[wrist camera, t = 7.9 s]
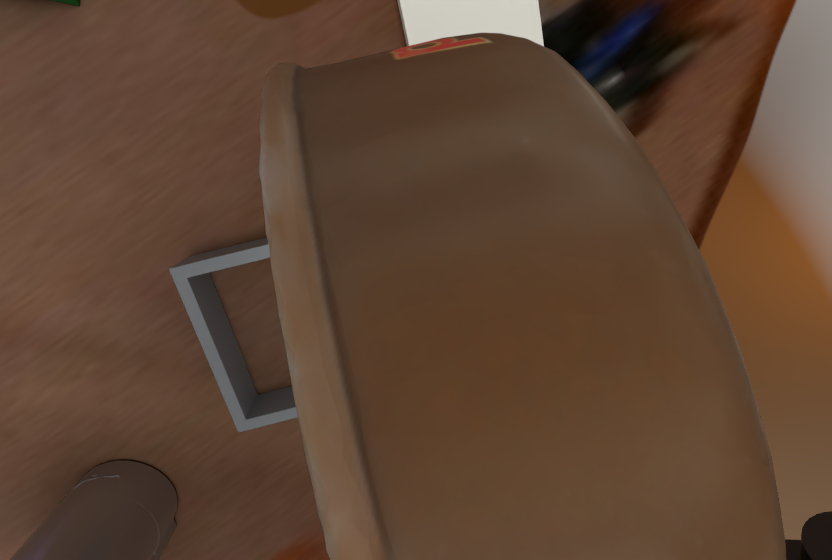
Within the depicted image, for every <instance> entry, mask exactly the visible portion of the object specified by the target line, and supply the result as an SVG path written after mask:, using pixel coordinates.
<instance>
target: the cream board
mask: <svg viewBox="0 0 832 560" xmlns="http://www.w3.org/2000/svg"><path fill="white" fill-rule="evenodd" d="M397 2H398V7H399V12H400V16H401V21H402V26H403V31H404V35H405V40H406V45H407V46H411V45H415V44H419V43H423V42H428V41H432V40H436V39H440V38H446V37H453V36H460V35H467V34H475V33H501V34H506V35H511V36H516V37H521V38H526V39H529V40H531V41H533V42H535V43H537V44H539V45H542V46H544V44H543V36H542V28H541V20H540V12H539V3H538V0H397Z"/></svg>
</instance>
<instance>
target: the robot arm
mask: <svg viewBox="0 0 832 560" xmlns="http://www.w3.org/2000/svg"><path fill="white" fill-rule="evenodd" d="M177 501H178V500H177V495H176V491H175V489H174V487H173V485H172V484H171V482H170V481H169V480H168V479H167V478H166V477H165V476H164V475H163V474H162V473H160V472H159V471H158V470H156V469H154V468H152V467H150V466H148V465H145V464H142V463H139V462H134V461H112V462H106V463H104V464H101V465H98V466H96V467H95V468H93V469H91V470H90V471H89V472H88V473H87V474H86V475H85V476H84V477H83V478H82V479H81V480H80V481H79V482H78V483H77V484H76V485H75V486H74V487H73V489H72V490H71V491H70V492H69V494H68V495H67V496H66V497H65V498H64V499H63V500H62V501H61V503H60V504H59V505H58V506H57V507H56V508H55V509H54V510H53V511H52V513H51V514H50V515H49V516H48V517H47V518H46V519H45V521H44V522H43V523H42V524H41V525H40V526H39V527H38V528H37V530H36V531H35V532H34V533H33V534H32V535H31V536H30V538H29V539H28V540H27V541H26V542H25V543H24V544H23V546H22V547H21V548H20V549H19V550H18V551H17V552H16V553H15V555H14V556H13V557H12V558H11V559H10V560H159V559H160V557H161V555H162V553H163V551H164V549H165V547H166V545H167V544H168V542H169V540H170V538H171V536H172V534H173V532H174V530H175V528H176V523H175V522H174V515H175V512H176V510H177ZM785 544H786V560H832V512H823V513H820V514H816V515H815V516H813V517H811V518H809V519H808V520H807V521H806V522H805V524H804V526H803V528H802V535H801V540H785Z"/></svg>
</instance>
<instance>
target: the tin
mask: <svg viewBox="0 0 832 560" xmlns="http://www.w3.org/2000/svg"><path fill="white" fill-rule="evenodd" d="M259 131H260V140H261V148H260V161H259V175H260V179H261V184H262V198H263V206H264V215H265V228H266V236H267V240H268V244H269V249H270V263H271V268H272V274H273V280H274V286H275V292H276V297H277V305H278V313H279V318H280V323H281V328H282V333H283V338H284V342H285V347H286V353H287V359H288V365H289V371H290V377H291V383H292V389H293V395H294V400H295V406H296V410H297V415H298V420H299V425H300V430H301V435H302V440H303V445H304V450H305V455H306V460H307V464H308V469H309V473H310V477H311V481H312V485H313V489H314V494H315V499H316V504H317V509H318V514H319V518H320V521H321V524H322V528H323V532H324V538H325V544H326V550H327V552H328V555H329V557H330V560H786V544H785V537H784V530H783V524H782V518H781V511H780V504H779V498H778V492H777V486H776V480H775V475H774V469H773V463H772V457H771V453H770V449H769V445H768V442H767V438H766V435H765V431H764V427H763V423H762V420H761V416H760V413H759V410H758V406H757V403H756V400H755V396H754V393H753V390H752V387H751V383H750V380H749V377H748V373H747V370H746V367H745V364H744V360H743V357H742V354H741V351H740V348H739V345H738V343H737V341H736V338H735V335H734V333H733V330H732V327H731V325H730V323H729V320H728V317H727V315H726V312H725V310H724V307H723V305H722V302H721V300H720V297H719V295H718V292H717V290H716V287H715V284H714V282H713V280H712V277H711V274H710V272H709V269H708V267H707V265H706V263H705V261H704V259H703V257H702V255H701V253H700V251H699V249H698V248H697V246H696V244H695V242H694V240H693V238H692V236H691V234H690V232H689V230H688V228H687V226H686V225H685V223H684V221H683V219H682V217H681V215H680V213H679V211H678V209H677V207H676V205H675V203H674V202H673V200H672V198H671V196H670V194H669V192H668V190H667V188H666V187H665V185H664V183H663V182H662V180H661V178H660V177H659V175H658V173H657V172H656V170H655V168H654V166H653V165H652V163H651V161H650V160H649V158H648V156H647V155H646V153H645V151H644V150H643V148H642V147H641V145H640V144H639V143H638V141H637V140H636V139H635V138H634V136H633V135H632V134H631V132H630V131H629V130H628V129H627V127H626V126H625V125H624V123H623V122H622V121H621V120H620V118H619V117H618V116H617V114H616V113H615V112H614V111H613V109H612V108H611V107H610V106H609V104H608V103H607V102H606V101H605V100H604V99H603V98H602V97H601V95H600V94H599V93H598V92H597V91H596V90H595V89H594V88H593V87H592V86H591V85H590V84H589V83H588V82H587V81H586V80H585V79H584V78H583V76H582V75H581V74H580V73H579V72H578V71H577V70H576V69H575V68H574V67H572V66H571V65H570V64H569V63H568V62H567V61H566V60H564V59H563V58H562V57H561V56H560V55H559V54H557V53H556V52H555V51H552V50H550V49H548V48H546V47H544V46H542V45H539V44H537V43H535V42H533V41H531V40H529V39H526V38H521V37H516V36H511V35H506V34H501V33H475V34H467V35H460V36H453V37H446V38H440V39H436V40H432V41H428V42H423V43H419V44H415V45H411V46H407V47H402V48H398V49H394V50H390V51H386V52H381V53H377V54H373V55H369V56H365V57H360V58H356V59H352V60H348V61H343V62H339V63H335V64H330V65H324V66H319V67H313V68H308V69H305V68H303V67H301V66H299V65H297V64H293V63H280V64H278V65H276V66H275V67H273V68H271V70H270V72H269V73H268V75H267V76H266V84H265V85H264V87H263V89H262V109H261V115H260V123H259Z"/></svg>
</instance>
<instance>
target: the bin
mask: <svg viewBox="0 0 832 560" xmlns="http://www.w3.org/2000/svg"><path fill="white" fill-rule="evenodd" d="M266 258H270V249H269V244H268V240H267V237H266V238H262V239H258V240H254V241H250V242H246V243H242V244H238V245H234V246H230V247H226V248H222V249H217V250H213V251H209V252H205V253H201V254H197V255H193V256H190V257H188V258H186V259H185V260H183V261H181V262H180V263H178V264H176V265H175V266H173V267H171V268H169V270H170V273H171V275H172V277H173V280H174V282H175V285H176V287H177V289H178V292H179V294H180V296H181V299H182V301H183V303H184V306H185V308H186V310H187V313H188V315H189V317H190V320H191V322H192V324H193V327H194V329H195V332H196V334H197V336H198V339H199V341H200V343H201V346H202V348H203V350H204V353H205V355H206V357H207V360H208V362H209V364H210V367H211V369H212V371H213V374H214V376H215V379H216V381H217V383H218V386H219V388H220V390H221V393H222V395H223V397H224V400H225V402H226V404H227V407H228V409H229V411H230V414H231V416H232V418H233V421H234V423H235V426H236V428H237V430H238V432H242V431H246V430H250V429H254V428H258V427H262V426H266V425H270V424H274V423H277V422H281V421H285V420H289V419H293V418H297V417H298V415H297V410H296V406H295V400H294V395H293V389H292V386H289V387H285V388H281V389H277V390H273V391H269V392H265V393H262V394H257V391H256V389H255V386H254V384H253V381H252V379H251V376H250V374H249V371H248V369H247V366H246V364H245V361H244V358H243V356H242V353H241V351H240V348H239V346H238V343H237V341H236V338H235V336H234V333H233V331H232V328H231V326H230V323H229V321H228V318H227V316H226V313H225V311H224V308H223V305H222V303H221V300H220V298H219V295H218V293H217V290H216V288H215V285H214V283H213V280H212V278H211V275H210V273H209V272H213V271H217V270H221V269H225V268H229V267H233V266H238V265H242V264H246V263H250V262H254V261H258V260H262V259H266Z"/></svg>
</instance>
